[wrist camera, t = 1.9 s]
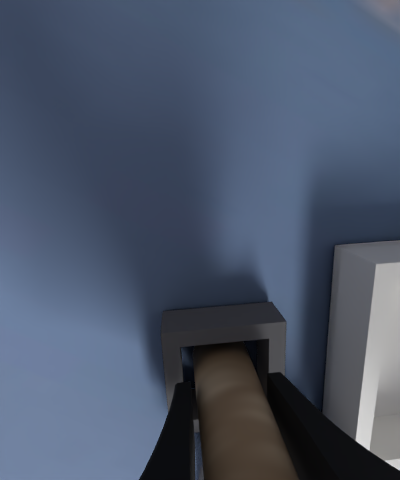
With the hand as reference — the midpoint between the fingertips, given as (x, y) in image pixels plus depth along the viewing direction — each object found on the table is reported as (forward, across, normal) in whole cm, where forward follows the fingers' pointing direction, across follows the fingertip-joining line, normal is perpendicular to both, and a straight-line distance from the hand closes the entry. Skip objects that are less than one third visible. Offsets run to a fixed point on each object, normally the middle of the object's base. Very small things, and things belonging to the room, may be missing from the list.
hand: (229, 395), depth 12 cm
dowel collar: (+3, 0, 0) cm, 3 cm away
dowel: (+3, 0, 0) cm, 3 cm away
